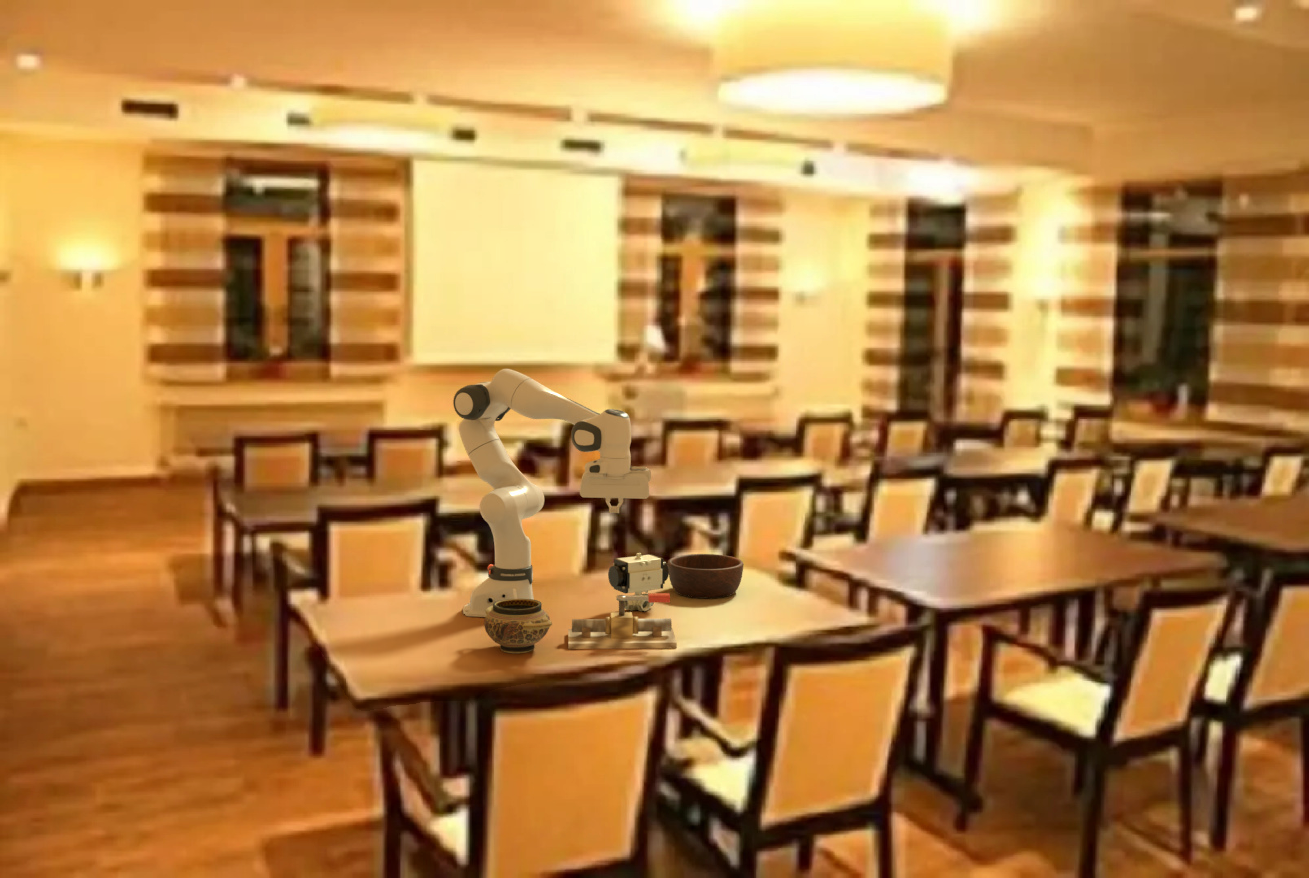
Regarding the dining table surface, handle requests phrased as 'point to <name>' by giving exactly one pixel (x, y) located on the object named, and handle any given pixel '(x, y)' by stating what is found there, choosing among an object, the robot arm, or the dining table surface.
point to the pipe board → (621, 643)
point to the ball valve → (638, 577)
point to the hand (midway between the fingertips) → (614, 512)
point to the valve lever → (646, 597)
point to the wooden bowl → (705, 575)
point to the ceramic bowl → (516, 624)
